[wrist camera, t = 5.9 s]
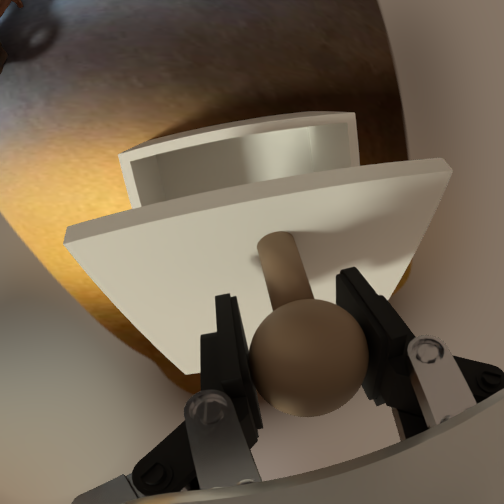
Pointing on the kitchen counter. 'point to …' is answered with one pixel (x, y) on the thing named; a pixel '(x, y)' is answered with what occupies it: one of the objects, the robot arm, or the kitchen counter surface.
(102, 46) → the kitchen counter surface
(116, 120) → the kitchen counter surface
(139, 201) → the carton
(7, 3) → the broken clay pot
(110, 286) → the carton lid
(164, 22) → the kitchen counter surface
